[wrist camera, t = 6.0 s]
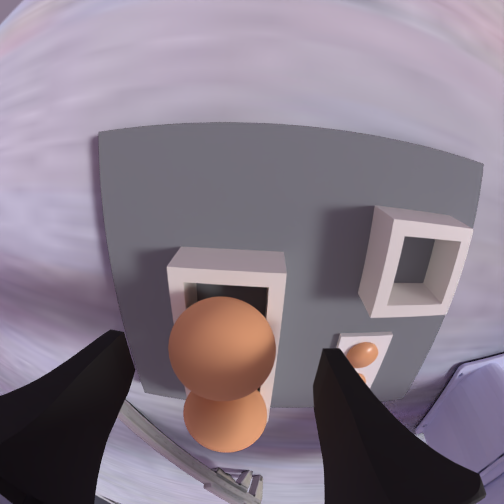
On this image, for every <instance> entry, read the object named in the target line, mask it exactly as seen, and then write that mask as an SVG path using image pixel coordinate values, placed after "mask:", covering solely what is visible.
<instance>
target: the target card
mask: <svg viewBox="0 0 504 504" xmlns="http://www.w3.org/2000/svg"><path fill="white" fill-rule="evenodd" d="M392 337H393V334H392V332H370V333H340V335H339V339H338V343H337V346H336V348H340V349H341V351H342V352H343V353H344V355H345V356H346V358H347V359H348V360H349V362H350V363H351V365H352V366H353V367H354V369H355V370H356V371H357V373H358V374H359V375H360V377H361V378H362V379H363V381H364V382H365V383H366V385H367V386H368V387H369V388H370V387H371V385H372V383H373V381H374V379H375V377H376V375H377V372H378V370H379V368H380V366H381V363H382V361H383V359H384V356H385V354H386V352H387V349H388V347H389V344H390V342H391V339H392Z"/></svg>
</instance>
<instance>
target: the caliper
mask: <svg viewBox="0 0 504 504" xmlns="http://www.w3.org/2000/svg"><path fill="white" fill-rule="evenodd" d="M117 417H118V418H119V419H120V420H121V421H122V422H123V423H124V424H125V425H126V426H127V427H128V428H130V429H131V430H132V431H133V432H134V433H135V434H136V435H138V436H139V437H140V438H141V439H142V440H143V441H145V442H146V443H147V444H148V445H150V446H151V447H152V448H153V449H155V450H156V451H157V452H158V453H160V454H161V455H162V456H164V457H165V458H166V459H168V460H169V461H170V462H172V463H173V464H175V465H176V466H177V467H179V468H180V469H182V470H183V471H185V472H186V473H187V474H189V475H190V476H192V477H194V478H195V479H197V480H198V481H200V482H201V483H203V484H204V489H206V490H208V491H209V492H211V493H213V494H214V495H216V496H218V497H219V498H221V499H223V500H225V501H227V502H228V503H230V504H261V501H262V492H263V477H262V476H261V475H257V476H253V480H252V483H251V487H250V490H249V493H248V492H247V490H248V488H249V485H250V481H251V478H252V473H253V471H250V470H249V471H245V472H242V473H241V475H240V476H239V478H238V479H237V480H236V482H235V480H234V479H233V478H232V477H231V475H230V474H228V473H225V472H224V471H223V470H222V469H221V468H219V467H218V468H213V469H210V468H208V467H207V466H205V465H204V464H202V463H201V462H199V461H198V460H197V459H195V458H194V457H192V456H191V455H190V454H188V453H187V452H186V451H184V450H183V449H182V448H180V447H179V446H178V445H177V444H175V443H174V442H173V441H172V440H170V439H169V438H168V437H167V436H165V435H164V434H163V433H162V432H161V431H160V430H158V429H157V428H156V427H155V426H154V425H153V424H152V423H150V422H149V421H148V420H147V419H146V418H145V417H144V416H143V415H142V414H141V413H140V412H139V411H137V410H136V409H135V408H134V407H133V406H132V405H131V404H130V403H129V402H128V401H127V400H126V399H125V401H124V403H123V405H122V408H121V410H120V412H119V414H118V416H117Z"/></svg>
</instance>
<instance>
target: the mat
mask: <svg viewBox="0 0 504 504" xmlns="http://www.w3.org/2000/svg"><path fill="white" fill-rule="evenodd" d="M483 166H484V164H483V163H480V162H477V161H474V160H471V159H468V158H464V157H461V156H458V155H455V154H451V153H448V152H444V151H441V150H437V149H433V148H429V147H425V146H421V145H417V144H413V143H409V142H404V141H400V140H395V139H390V138H385V137H380V136H374V135H369V134H363V133H356V132H350V131H343V130H335V129H327V128H319V127H309V126H298V125H285V124H269V123H238V122H212V123H182V124H165V125H153V126H142V127H133V128H124V129H116V130H109V131H102V132H99V168H100V184H101V197H102V207H103V216H104V224H105V232H106V239H107V246H108V252H109V258H110V264H111V269H112V275H113V280H114V285H115V290H116V294H117V299H118V303H119V307H120V312H121V316H122V320H123V324H124V327H125V331H126V335H127V338H128V342H129V345H130V349H131V352H132V356H133V359H134V362H135V365H136V368H137V371H138V374H139V377H140V380H141V383H142V386H143V389H144V392H145V393H149V394H154V395H160V396H165V397H171V398H177V399H183V400H186V399H187V396H186V391H185V386H184V385H183V384H182V382H181V381H180V380H179V379H178V377H177V376H176V374H175V372H174V370H173V368H172V366H171V362H170V359H169V351H168V345H169V337H170V333H171V330H172V328H173V326H174V322H173V315H172V308H171V301H170V293H169V284H168V275H167V265H168V264H169V263H170V261H171V260H172V258H173V257H174V256H175V254H176V253H177V251H178V250H179V249H180V247H200V248H220V249H239V250H259V251H279V252H284V257H285V264H286V272H287V276H286V286H285V295H284V305H283V313H282V322H281V330H280V339H279V347H278V354H277V362H276V370H275V377H274V384H273V391H272V398H271V405H270V407H282V408H301V407H314V400H313V383H314V379H315V376H316V372H317V369H318V365H319V361H320V357H321V353H322V349H323V348H336V346H337V343H338V339H339V335H340V333H370V332H392V334H393V337H392V339H391V342H390V344H389V347H388V349H387V352H386V354H385V356H384V359H383V361H382V363H381V366H380V368H379V370H378V372H377V375H376V377H375V379H374V381H373V383H372V385H371V387H370V390H371V391H372V392H373V393H374V395H375V396H376V397H377V398H378V399H379V400H380V402H384V401H391V400H398V399H403V398H404V396H405V394H406V393H407V391H408V389H409V388H410V386H411V384H412V382H413V381H414V379H415V377H416V375H417V374H418V372H419V370H420V368H421V366H422V364H423V362H424V360H425V358H426V356H427V354H428V352H429V350H430V348H431V346H432V344H433V342H434V340H435V338H436V335H437V333H438V331H439V329H440V326H441V324H442V322H443V319H444V317H445V315H433V316H415V317H387V318H370V316H369V314H368V312H367V310H366V308H365V306H364V304H363V302H362V300H361V298H360V296H359V294H358V291H359V286H360V282H361V278H362V273H363V268H364V264H365V259H366V254H367V249H368V243H369V238H370V232H371V226H372V220H373V214H374V207H375V205H376V206H384V207H393V208H401V209H409V210H416V211H423V212H430V213H437V214H444V215H450V216H452V217H453V218H455V219H457V220H459V221H460V222H462V223H464V224H466V225H467V226H469V227H471V228H472V229H473V226H474V221H475V216H476V211H477V206H478V201H479V195H480V189H481V182H482V175H483ZM434 242H435V239H430V238H419V237H408V236H405V237H404V242H403V246H402V251H401V255H400V259H399V263H398V267H397V271H396V275H395V279H394V283H423V282H424V279H425V275H426V272H427V268H428V265H429V261H430V258H431V254H432V250H433V246H434ZM196 286H197V301H201V300H204V299H207V298H211V297H219V296H221V297H232V298H236V299H239V300H242V301H244V302H246V303H248V304H250V305H252V306H253V307H254V308H256V309H257V310H258V311H259V312H260V313H261V314H262V315H263V316H264V317H265V308H266V294H267V287H251V286H234V285H218V284H203V283H196ZM257 390H259V388H258V389H257Z"/></svg>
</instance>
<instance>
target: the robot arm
mask: <svg viewBox="0 0 504 504" xmlns="http://www.w3.org/2000/svg"><path fill="white" fill-rule="evenodd" d="M134 372H135V367H134V364H133V361H132V358H131V355H130V351H129V348H128V345H127V341H126V338H125V334H124V332H121V331H115V330H109V331H108V332H106V333H105V334H103V335H102V336H100V337H99V338H97V339H96V340H95V341H93V342H92V343H91V344H89V345H88V346H87V347H85V348H84V349H82V350H81V351H80V352H78V353H77V354H76V355H74V356H73V357H71V358H70V359H69V360H67V361H66V362H64V363H63V364H61V365H60V366H58V367H57V368H55V369H54V370H52V371H51V372H49V373H48V374H46V375H44V376H42V377H41V378H39V379H37V380H35V381H33V382H31V383H30V384H28V385H26V386H23V387H21V388H19V389H16V390H14V391H12V392H9V393H7V394H4V395H1V396H0V504H94V500H95V492H96V485H97V478H98V474H99V469H100V464H101V460H102V456H103V453H104V449H105V445H106V442H107V440H108V437H109V434H110V432H111V430H112V427H113V425H114V423H115V421H116V419H117V416H118V414H119V412H120V410H121V408H122V405H123V403H124V401H125V399H126V396H127V394H128V392H129V389H130V386H131V383H132V379H133V376H134ZM313 400H314V412H315V418H316V423H317V429H318V435H319V440H320V446H321V452H322V457H323V465H324V485H325V504H504V354H500V355H497V356H493V357H489V358H485V359H481V360H477V361H473V362H469V363H464V364H462V365H460V366H459V367H458V369H457V370H456V372H455V374H454V375H453V377H452V378H451V380H450V382H449V383H448V385H447V386H446V388H445V389H444V391H443V392H442V394H441V395H440V397H439V398H438V400H437V401H436V403H435V404H434V405H433V407H432V408H431V410H430V411H429V412H428V414H427V415H426V416H425V418H424V419H423V420H422V422H421V423H420V424H419V425H418V427H417V428H416V429H415V432H416V433H417V434H418V433H422V432H423V433H424V436H425V439H426V442H427V444H428V445H427V444H426V443H424V442H423V441H422V440H420V439H419V438H418V437H416V436H415V435H414V434H413V433H411V432H410V431H409V430H408V429H407V428H406V427H405V426H404V425H403V424H401V423H400V422H399V421H398V420H397V419H396V418H395V417H394V416H393V415H392V414H391V413H390V412H389V410H388V409H387V408H386V407H385V406H384V405H383V404H382V403H381V402H380V400H379V399H378V398H377V397H376V396H375V395H374V393H373V392H372V391H371V390H370V388H369V387H368V386H367V385H366V383H365V382H364V381H363V379H362V378H361V377H360V375H359V374H358V373H357V371H356V370H355V369H354V367H353V366H352V365H351V363H350V362H349V360H348V359H347V358H346V356H345V355H344V353H343V352H342V351H341V349H340V348H323V349H322V353H321V357H320V361H319V365H318V369H317V372H316V376H315V379H314V383H313Z"/></svg>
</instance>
